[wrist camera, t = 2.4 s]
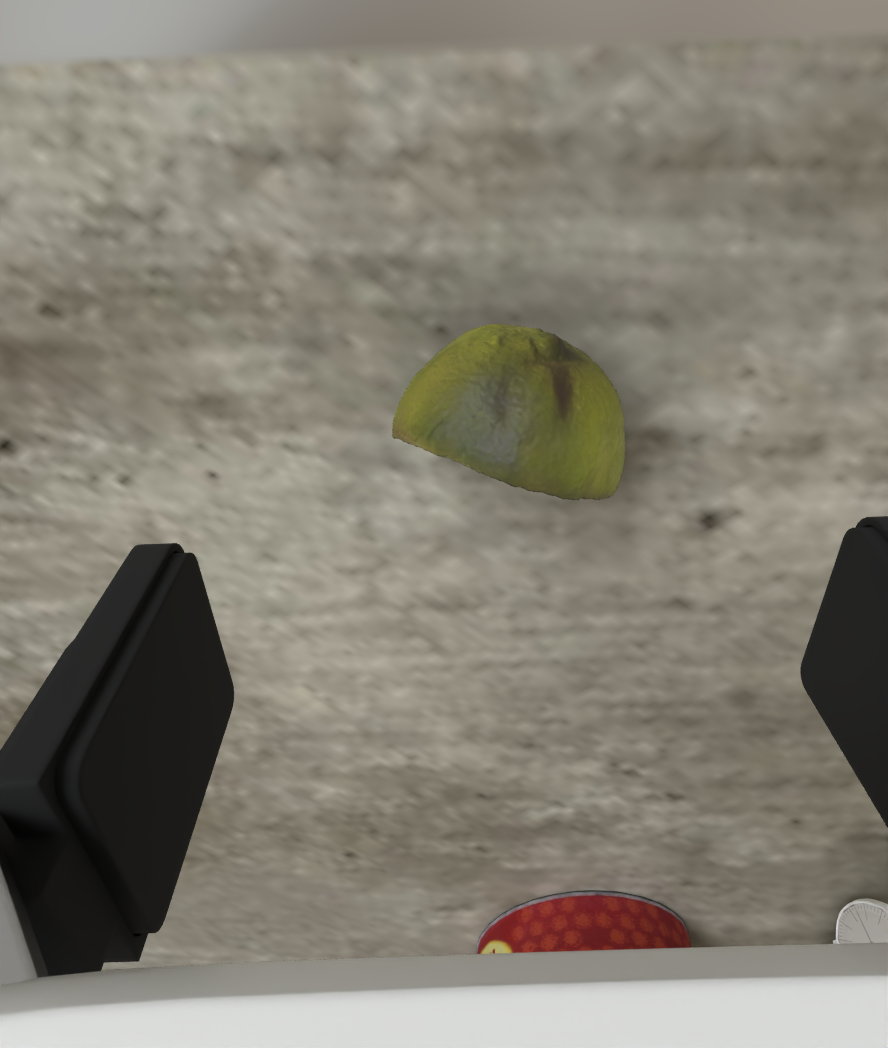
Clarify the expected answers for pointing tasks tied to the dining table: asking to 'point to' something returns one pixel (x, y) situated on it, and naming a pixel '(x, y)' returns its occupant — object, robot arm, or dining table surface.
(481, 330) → the lime
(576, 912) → the canned food
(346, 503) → the dining table surface
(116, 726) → the robot arm
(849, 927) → the watch
